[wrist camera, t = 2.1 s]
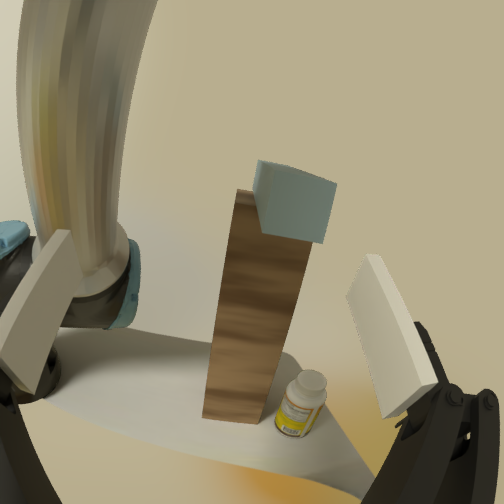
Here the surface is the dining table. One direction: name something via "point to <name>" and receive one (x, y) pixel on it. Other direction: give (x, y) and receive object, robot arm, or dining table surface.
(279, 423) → the supplement bottle
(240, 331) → the walnut stand
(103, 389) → the dining table surface
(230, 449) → the dining table surface
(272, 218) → the bar
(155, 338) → the dining table surface
